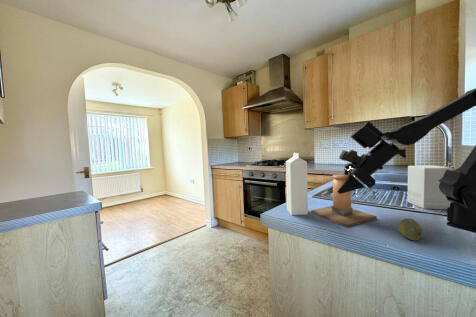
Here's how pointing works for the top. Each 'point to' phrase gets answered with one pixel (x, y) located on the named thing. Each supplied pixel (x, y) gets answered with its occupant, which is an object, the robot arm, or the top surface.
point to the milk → (296, 185)
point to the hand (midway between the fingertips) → (337, 190)
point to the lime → (410, 229)
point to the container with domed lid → (340, 199)
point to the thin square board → (344, 216)
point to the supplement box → (426, 187)
